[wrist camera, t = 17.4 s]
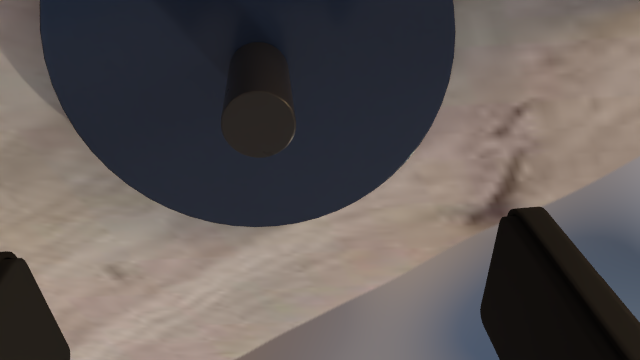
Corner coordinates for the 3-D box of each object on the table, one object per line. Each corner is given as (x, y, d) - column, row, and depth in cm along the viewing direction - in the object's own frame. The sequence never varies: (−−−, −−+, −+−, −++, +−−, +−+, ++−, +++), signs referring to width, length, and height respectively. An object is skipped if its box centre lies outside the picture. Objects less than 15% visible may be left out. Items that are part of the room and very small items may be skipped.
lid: (114, 227, 24) (76, 323, 19) (-26, -172, 15) (-171, -192, 10) (427, 199, 25) (469, 282, 20) (473, -186, 16) (570, -212, 11)
